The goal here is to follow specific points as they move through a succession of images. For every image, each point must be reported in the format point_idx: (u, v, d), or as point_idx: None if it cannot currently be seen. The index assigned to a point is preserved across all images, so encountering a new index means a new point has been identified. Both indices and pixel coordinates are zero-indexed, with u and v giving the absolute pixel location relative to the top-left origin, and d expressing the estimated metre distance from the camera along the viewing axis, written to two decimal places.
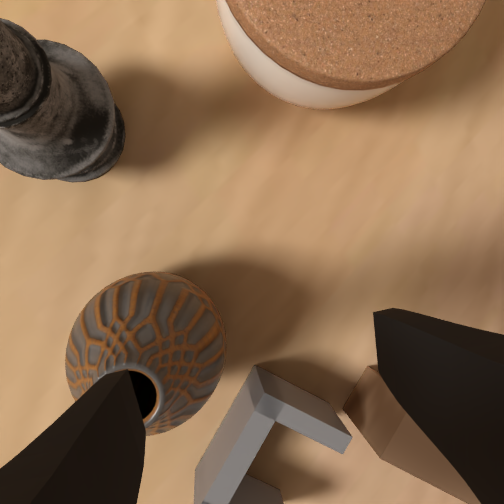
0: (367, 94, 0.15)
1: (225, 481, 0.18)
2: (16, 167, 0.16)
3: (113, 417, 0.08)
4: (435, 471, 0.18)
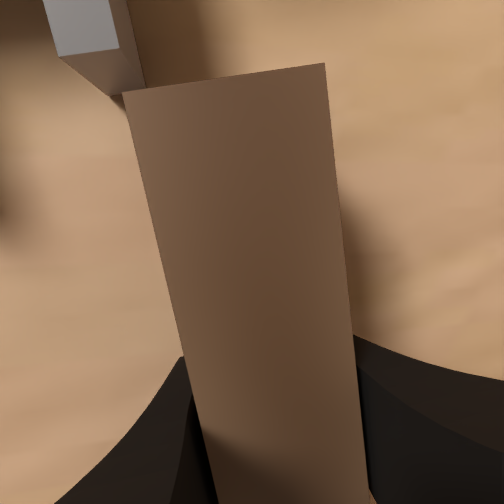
0: None
1: None
2: None
3: None
4: (207, 277, 0.06)
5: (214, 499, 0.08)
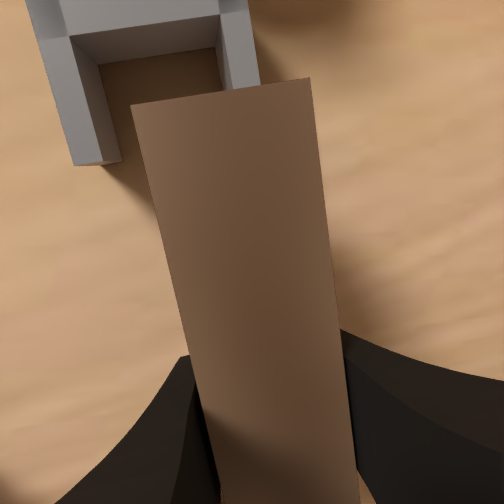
0: None
1: (102, 6, 0.12)
2: None
3: None
4: (206, 269, 0.07)
5: (214, 499, 0.08)
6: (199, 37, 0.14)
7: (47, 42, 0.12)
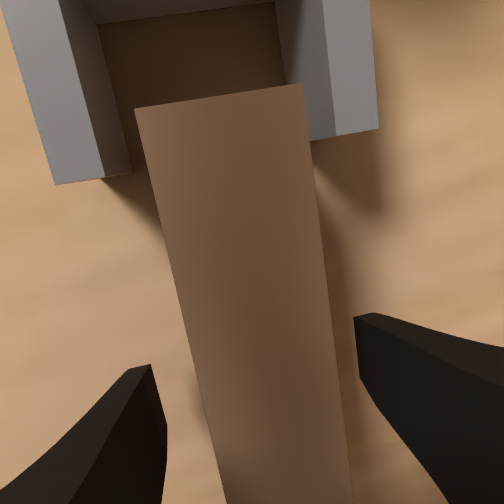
0: None
1: None
2: None
3: (140, 410, 0.08)
4: (205, 263, 0.07)
5: None
6: None
7: None
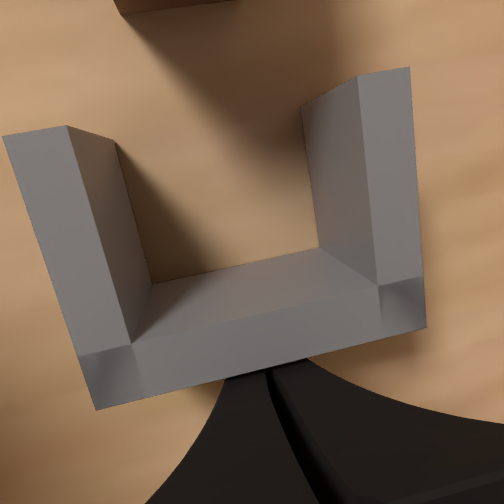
0: None
1: None
2: None
3: (266, 380, 0.09)
4: None
5: None
6: None
7: None
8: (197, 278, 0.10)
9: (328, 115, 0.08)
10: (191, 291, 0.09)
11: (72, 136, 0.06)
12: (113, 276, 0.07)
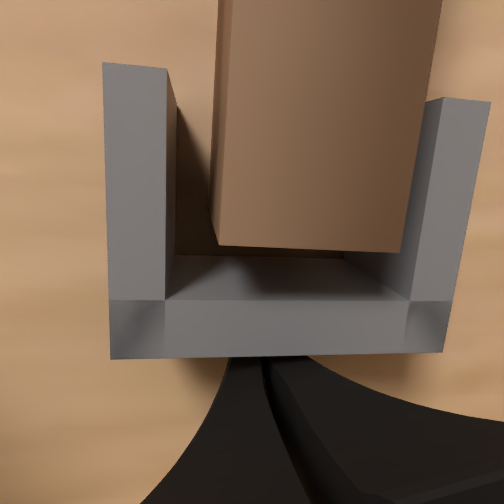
0: None
1: None
2: None
3: (263, 380, 0.09)
4: None
5: None
6: None
7: None
8: (221, 259, 0.10)
9: None
10: (218, 268, 0.09)
11: (167, 81, 0.06)
12: (166, 228, 0.07)
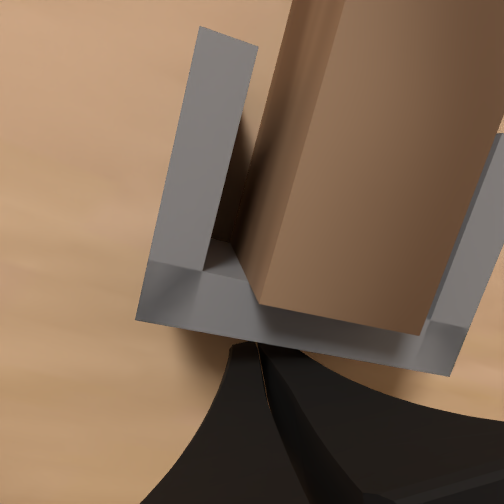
0: None
1: None
2: None
3: None
4: None
5: None
6: None
7: None
8: None
9: None
10: None
11: None
12: (219, 201, 0.07)
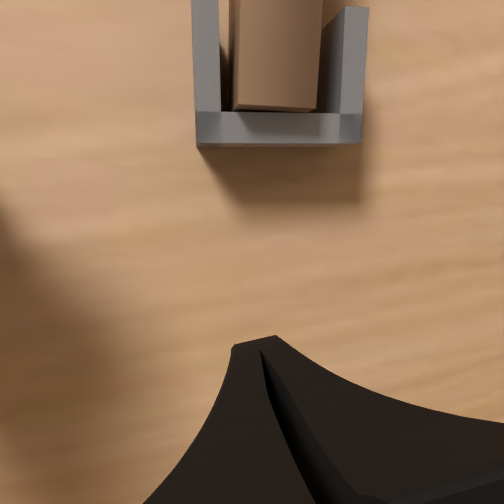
0: None
1: None
2: None
3: None
4: None
5: None
6: None
7: None
8: None
9: (330, 33, 0.16)
10: None
11: (217, 5, 0.14)
12: (219, 76, 0.14)
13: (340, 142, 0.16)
